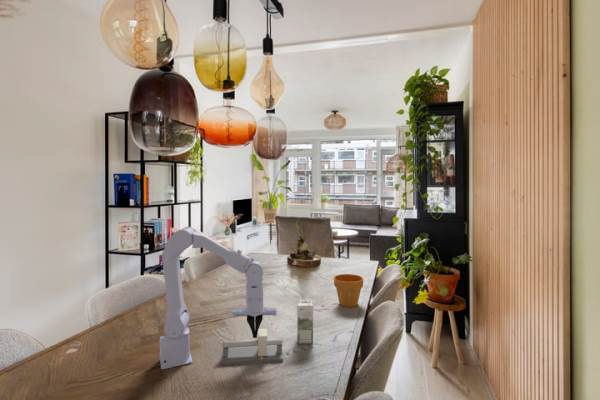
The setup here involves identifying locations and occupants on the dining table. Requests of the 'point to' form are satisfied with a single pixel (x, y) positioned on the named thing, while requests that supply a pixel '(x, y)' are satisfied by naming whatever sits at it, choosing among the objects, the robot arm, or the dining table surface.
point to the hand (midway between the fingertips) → (255, 336)
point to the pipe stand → (250, 352)
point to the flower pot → (348, 289)
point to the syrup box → (305, 322)
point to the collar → (262, 342)
